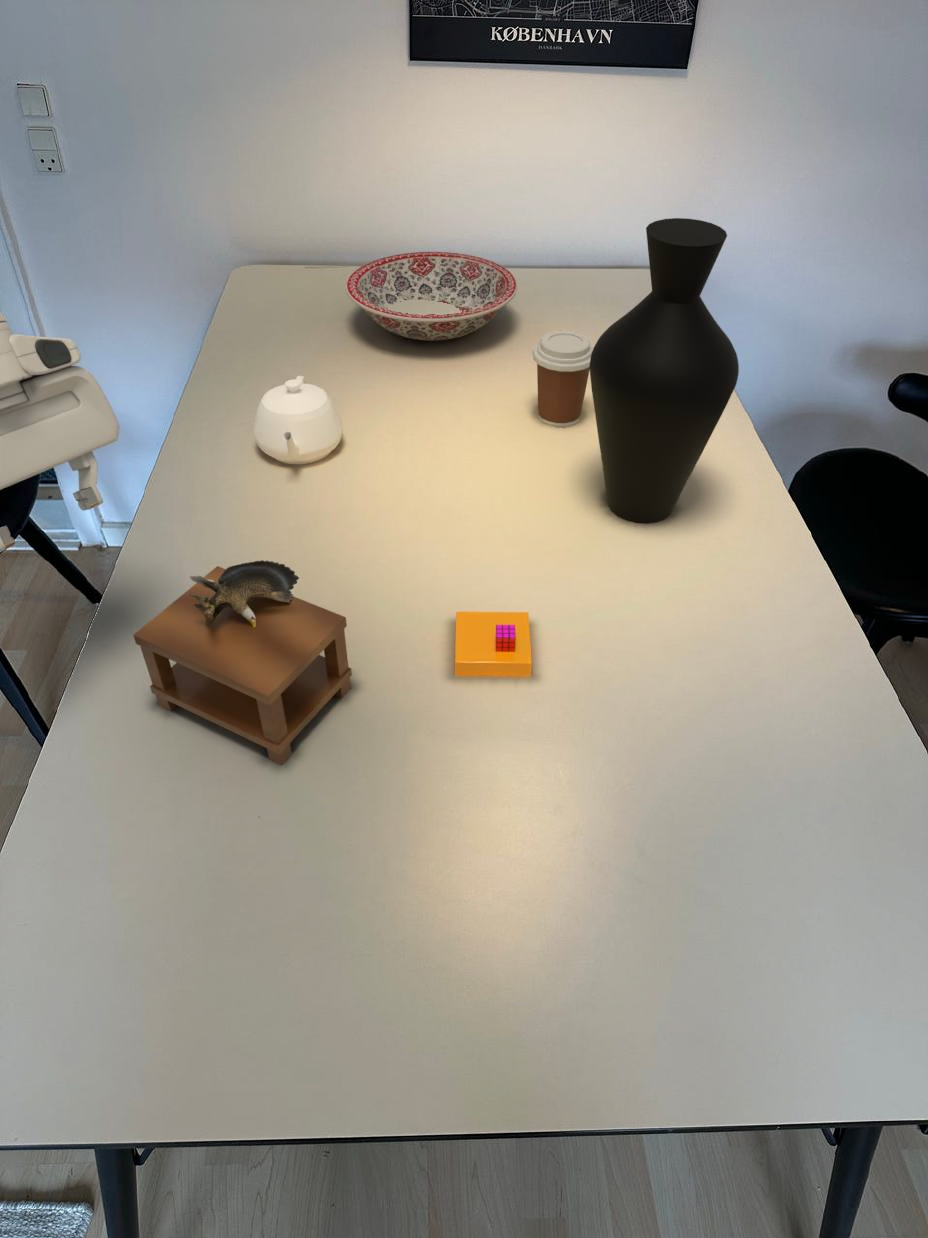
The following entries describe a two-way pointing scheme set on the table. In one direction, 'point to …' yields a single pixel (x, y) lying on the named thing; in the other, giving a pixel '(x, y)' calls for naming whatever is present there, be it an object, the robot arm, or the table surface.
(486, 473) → the table surface
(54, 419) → the robot arm
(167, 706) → the shelf
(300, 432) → the teapot
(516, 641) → the orange block
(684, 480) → the vase
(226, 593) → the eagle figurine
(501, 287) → the ceramic bowl
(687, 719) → the table surface
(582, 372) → the coffee cup
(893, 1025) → the table surface
